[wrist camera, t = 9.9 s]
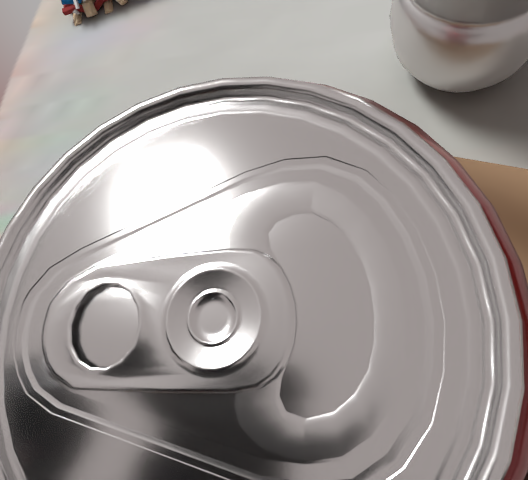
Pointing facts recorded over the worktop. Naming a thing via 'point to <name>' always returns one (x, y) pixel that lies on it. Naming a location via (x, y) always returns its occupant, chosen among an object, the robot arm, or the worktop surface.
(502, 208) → the walnut base board
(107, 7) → the woven mat
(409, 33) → the plastic bottle
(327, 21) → the worktop surface
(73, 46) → the worktop surface
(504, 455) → the soda can
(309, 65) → the worktop surface
